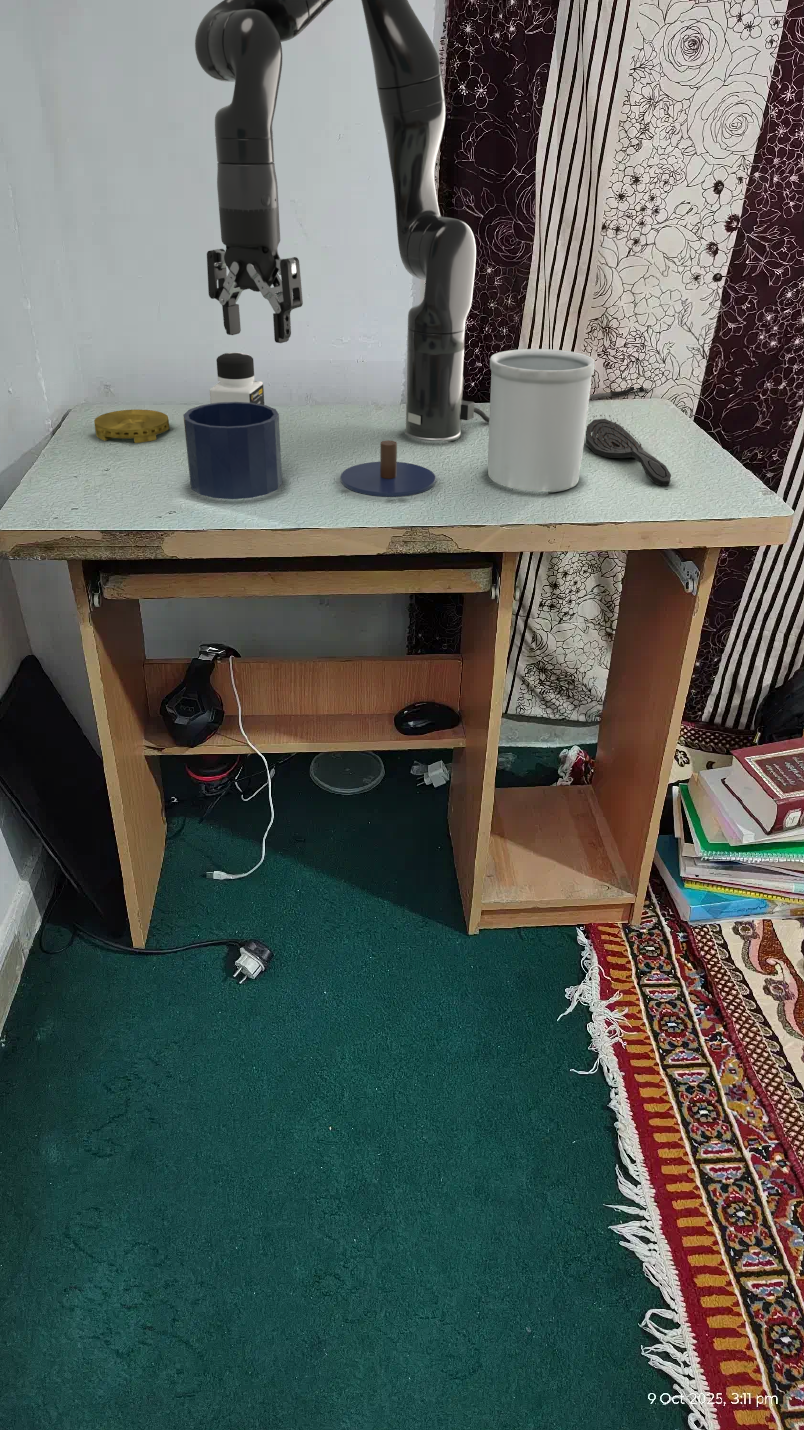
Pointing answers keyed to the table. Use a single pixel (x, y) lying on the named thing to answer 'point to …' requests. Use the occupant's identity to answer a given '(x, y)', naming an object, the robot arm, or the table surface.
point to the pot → (233, 449)
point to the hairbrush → (624, 448)
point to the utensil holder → (538, 418)
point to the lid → (388, 475)
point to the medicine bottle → (236, 380)
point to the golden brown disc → (131, 425)
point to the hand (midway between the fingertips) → (257, 338)
